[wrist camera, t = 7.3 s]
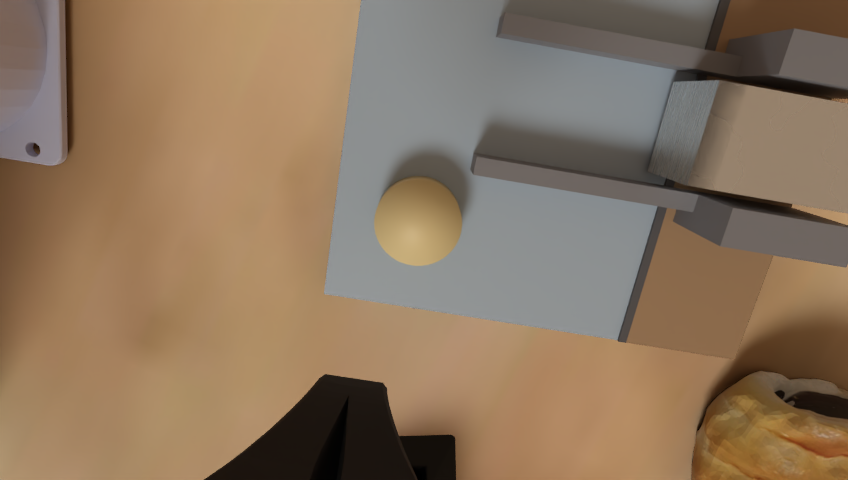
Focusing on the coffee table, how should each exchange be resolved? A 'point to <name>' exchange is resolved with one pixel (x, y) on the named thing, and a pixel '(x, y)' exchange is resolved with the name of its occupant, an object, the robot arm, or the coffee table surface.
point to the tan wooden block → (755, 143)
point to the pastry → (774, 431)
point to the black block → (431, 456)
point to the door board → (568, 163)
